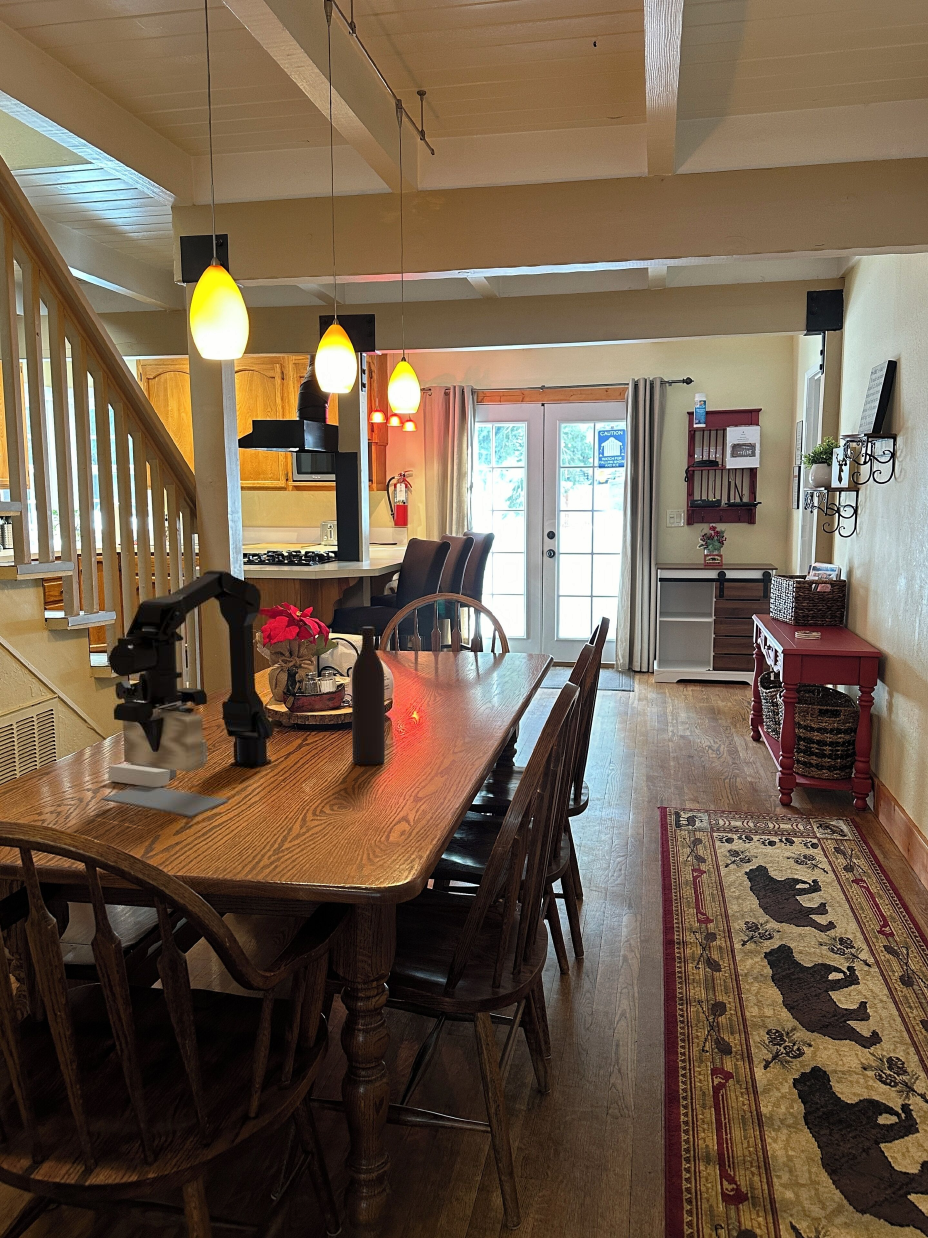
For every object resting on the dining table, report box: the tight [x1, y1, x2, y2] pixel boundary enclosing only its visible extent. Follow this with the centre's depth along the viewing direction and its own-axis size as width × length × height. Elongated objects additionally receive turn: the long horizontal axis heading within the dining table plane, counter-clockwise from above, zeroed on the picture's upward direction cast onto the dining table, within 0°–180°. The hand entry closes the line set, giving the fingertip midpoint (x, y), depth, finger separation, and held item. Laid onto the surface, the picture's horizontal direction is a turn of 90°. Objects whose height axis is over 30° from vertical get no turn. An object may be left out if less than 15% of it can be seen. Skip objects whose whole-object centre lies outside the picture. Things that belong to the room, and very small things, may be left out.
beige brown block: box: [122, 710, 205, 773], centre depth 175 cm, size 16×4×10 cm, turn 64°
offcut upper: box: [130, 763, 178, 781], centre depth 191 cm, size 9×3×3 cm
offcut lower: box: [107, 763, 170, 788], centre depth 187 cm, size 12×4×3 cm, turn 68°
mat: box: [101, 785, 229, 818], centre depth 176 cm, size 22×10×1 cm, turn 64°
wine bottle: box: [351, 626, 386, 767], centre depth 202 cm, size 7×7×30 cm
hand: (163, 749), depth 175 cm, fingers closed on beige brown block, 4 cm apart
